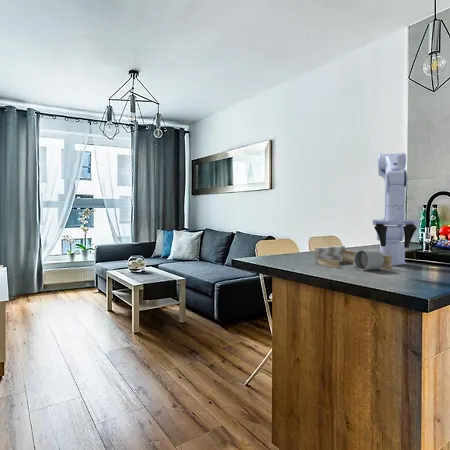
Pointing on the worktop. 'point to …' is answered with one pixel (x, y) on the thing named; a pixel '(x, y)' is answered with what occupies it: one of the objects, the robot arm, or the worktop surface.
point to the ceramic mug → (368, 260)
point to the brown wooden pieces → (341, 257)
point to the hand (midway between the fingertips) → (394, 247)
